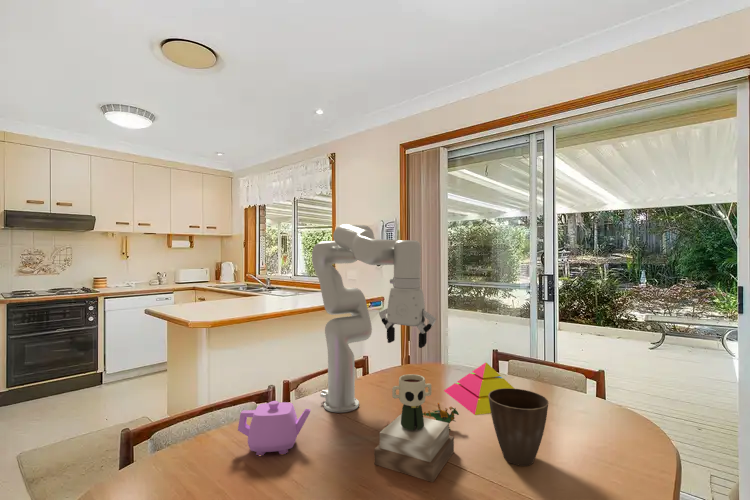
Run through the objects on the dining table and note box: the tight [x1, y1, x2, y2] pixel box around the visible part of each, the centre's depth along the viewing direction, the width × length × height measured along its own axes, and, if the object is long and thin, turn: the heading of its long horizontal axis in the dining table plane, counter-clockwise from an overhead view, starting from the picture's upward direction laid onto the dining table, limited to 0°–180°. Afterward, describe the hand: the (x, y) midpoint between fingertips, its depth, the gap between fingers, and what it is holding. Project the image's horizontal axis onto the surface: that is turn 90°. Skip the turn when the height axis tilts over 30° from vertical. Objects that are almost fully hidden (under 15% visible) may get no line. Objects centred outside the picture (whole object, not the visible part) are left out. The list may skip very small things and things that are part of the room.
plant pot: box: [488, 388, 549, 467], centre depth 100 cm, size 15×15×16 cm
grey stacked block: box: [373, 413, 455, 483], centre depth 101 cm, size 16×16×8 cm
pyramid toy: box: [443, 362, 516, 416], centre depth 142 cm, size 25×25×14 cm
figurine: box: [423, 402, 460, 431], centre depth 117 cm, size 3×12×8 cm, turn 92°
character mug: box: [391, 373, 432, 430], centre depth 101 cm, size 11×7×13 cm, turn 101°
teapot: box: [237, 400, 312, 457], centre depth 107 cm, size 20×12×13 cm, turn 96°
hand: (406, 344), depth 107 cm, fingers open, 9 cm apart
